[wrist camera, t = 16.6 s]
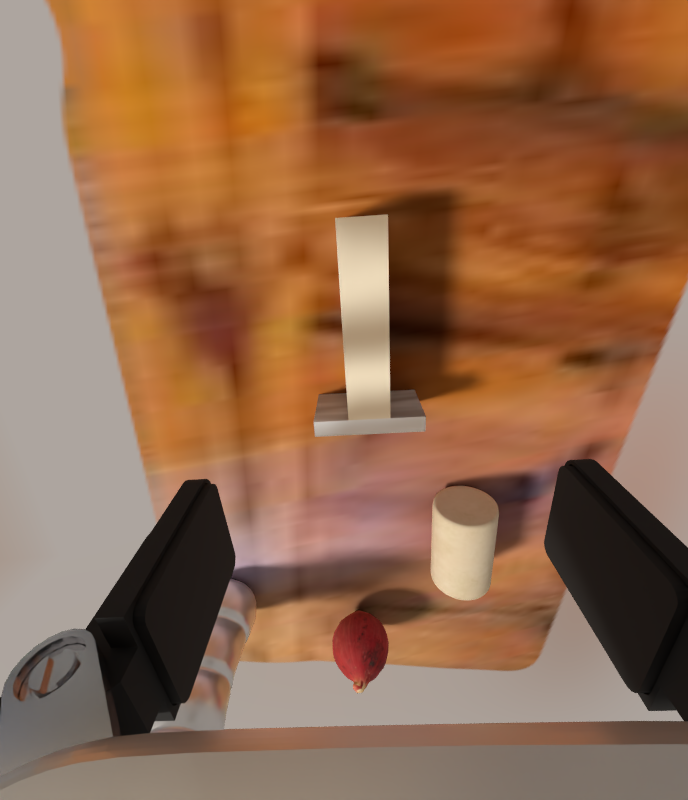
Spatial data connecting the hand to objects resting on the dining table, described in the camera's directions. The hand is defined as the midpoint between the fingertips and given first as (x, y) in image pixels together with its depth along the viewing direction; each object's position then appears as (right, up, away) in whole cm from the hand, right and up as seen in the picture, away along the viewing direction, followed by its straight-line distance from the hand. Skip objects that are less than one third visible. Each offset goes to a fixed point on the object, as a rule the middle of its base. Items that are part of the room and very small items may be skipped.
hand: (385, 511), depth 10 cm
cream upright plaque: (0, +8, +19) cm, 20 cm away
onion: (+1, -21, +32) cm, 38 cm away
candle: (+9, -6, +22) cm, 24 cm away
